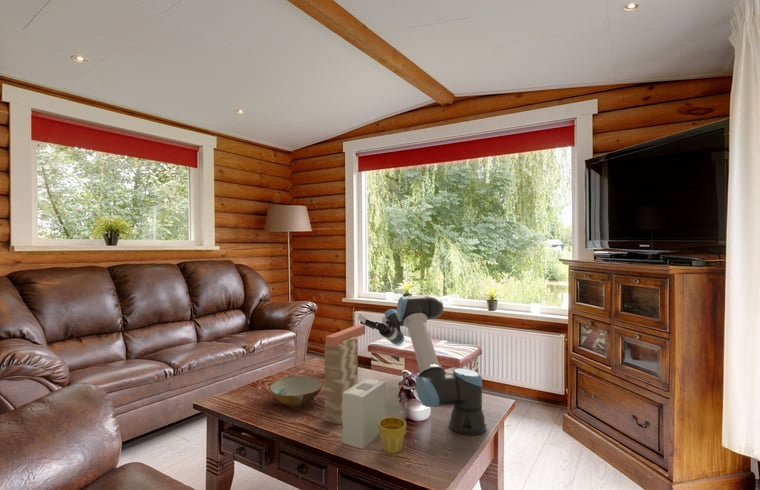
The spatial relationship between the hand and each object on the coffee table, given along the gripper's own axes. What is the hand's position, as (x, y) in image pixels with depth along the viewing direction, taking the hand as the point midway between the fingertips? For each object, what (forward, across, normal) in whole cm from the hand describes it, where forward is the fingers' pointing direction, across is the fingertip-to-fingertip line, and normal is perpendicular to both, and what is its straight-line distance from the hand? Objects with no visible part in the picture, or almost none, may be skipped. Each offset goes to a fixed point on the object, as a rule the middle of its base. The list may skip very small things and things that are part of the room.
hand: (370, 318), depth 200 cm
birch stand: (+4, 0, -47) cm, 47 cm away
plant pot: (+16, -33, -53) cm, 65 cm away
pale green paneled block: (+13, -19, -52) cm, 56 cm away
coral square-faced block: (+16, 0, -16) cm, 23 cm away
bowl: (+2, +27, -46) cm, 53 cm away
